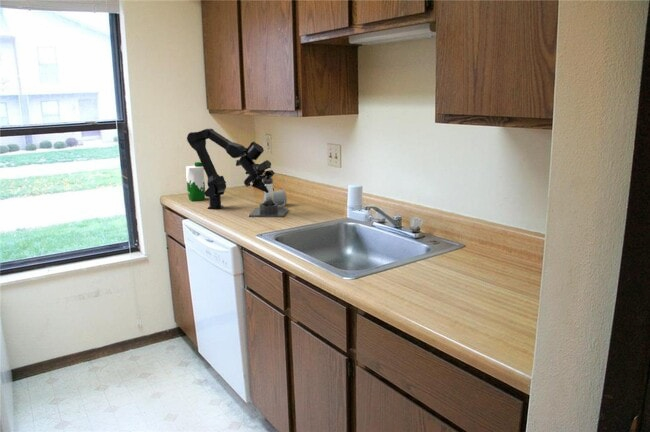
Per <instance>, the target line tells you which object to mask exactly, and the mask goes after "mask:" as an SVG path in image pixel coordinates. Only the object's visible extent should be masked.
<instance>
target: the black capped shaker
mask: <svg viewBox="0 0 650 432" xmlns="http://www.w3.org/2000/svg"><path fill="white" fill-rule="evenodd" d="M273 182H274V178H273V177H271V178H265V179H263V183H264V185H265V186H266V188H267V189H268V191H269V192H268V193H266V192H264V191H263V203H264V205H265V206H271V205H273V188H274V183H273Z"/></svg>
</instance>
